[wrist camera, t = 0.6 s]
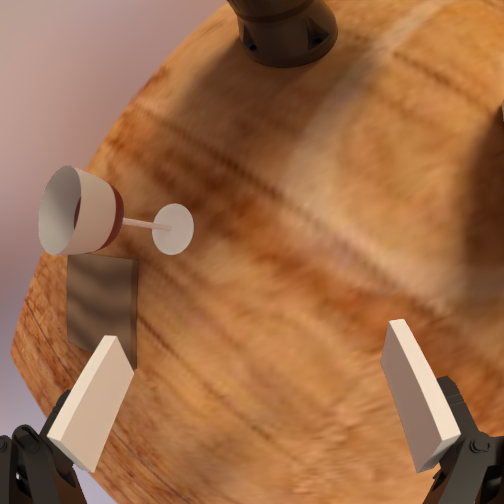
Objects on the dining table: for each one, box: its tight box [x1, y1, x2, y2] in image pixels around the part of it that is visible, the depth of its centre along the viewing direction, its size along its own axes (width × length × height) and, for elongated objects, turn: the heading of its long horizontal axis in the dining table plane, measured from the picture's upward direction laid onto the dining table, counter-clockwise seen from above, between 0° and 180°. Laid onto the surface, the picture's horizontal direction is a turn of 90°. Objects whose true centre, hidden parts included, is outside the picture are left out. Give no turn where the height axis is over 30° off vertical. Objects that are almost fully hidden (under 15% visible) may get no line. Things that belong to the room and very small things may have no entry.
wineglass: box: [38, 166, 194, 255], centre depth 33 cm, size 8×9×20 cm
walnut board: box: [67, 253, 139, 370], centre depth 47 cm, size 18×18×2 cm
